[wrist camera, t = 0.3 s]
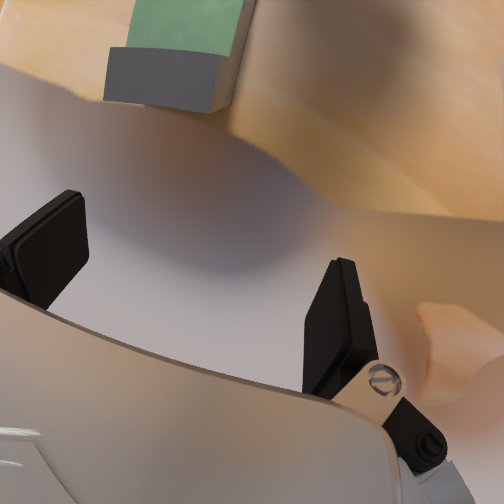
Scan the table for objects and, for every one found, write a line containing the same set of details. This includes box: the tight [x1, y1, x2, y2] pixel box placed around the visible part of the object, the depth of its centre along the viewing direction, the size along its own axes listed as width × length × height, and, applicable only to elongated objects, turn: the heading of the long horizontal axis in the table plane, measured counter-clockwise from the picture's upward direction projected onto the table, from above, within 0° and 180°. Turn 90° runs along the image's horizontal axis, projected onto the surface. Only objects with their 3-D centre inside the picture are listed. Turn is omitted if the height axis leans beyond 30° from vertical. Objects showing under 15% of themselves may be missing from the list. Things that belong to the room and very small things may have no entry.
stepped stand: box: [103, 0, 256, 114], centre depth 26 cm, size 20×12×10 cm, turn 167°
